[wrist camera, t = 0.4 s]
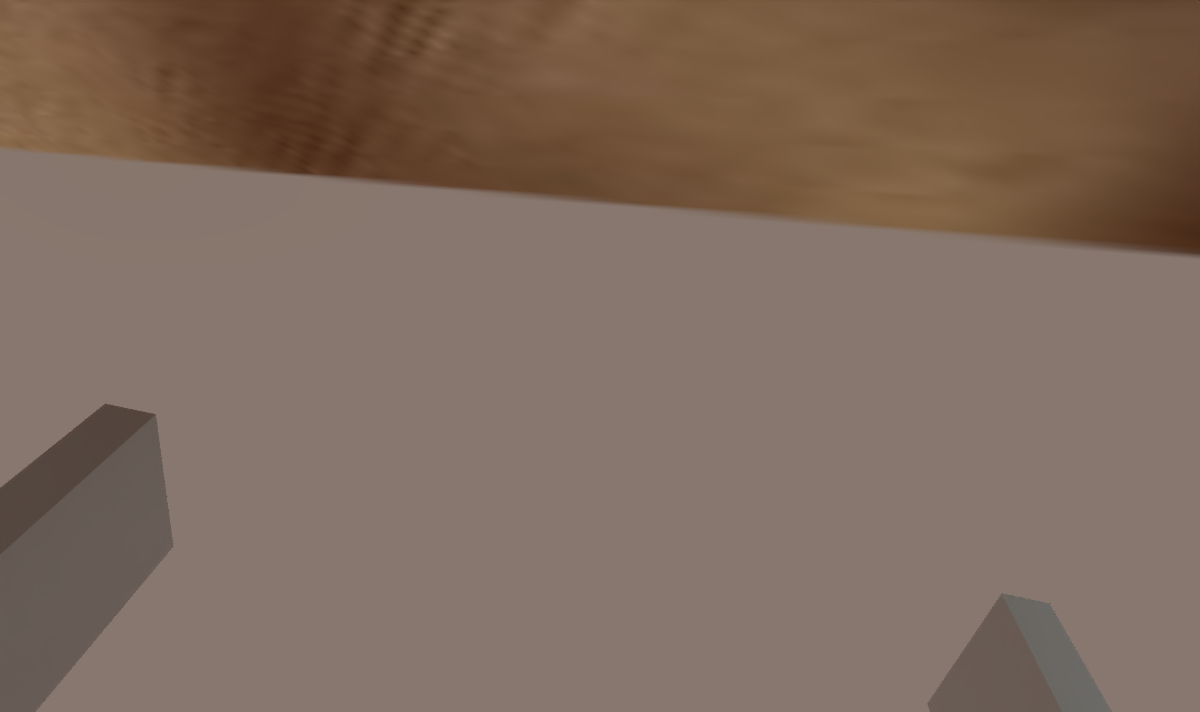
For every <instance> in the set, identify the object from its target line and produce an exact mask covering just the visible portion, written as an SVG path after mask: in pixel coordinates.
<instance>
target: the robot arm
mask: <svg viewBox="0 0 1200 712" xmlns="http://www.w3.org/2000/svg"><path fill="white" fill-rule="evenodd" d="M172 548H173V540H172V534H171V526H170V518H169V510H168V503H167V496H166V488H165V480H164V473H163V465H162V457H161V450H160V443H159V435H158V427H157V420H156V414H152V413H147V412H142V411H137V410H133V409H128V408H123V407H118V406H114V405H109V404H104V405H103V406H102V407H100V408H99V409H98V410H97V411H96V412H94V413H93V414H92V415H90V417H88V418H87V419H85V420H84V421H83V422H82V423H81V424H79V425H78V426H77V427H76V428H74V429H73V430H72V431H71V432H69V433H68V434H67V435H66V436H65V437H63V438H62V439H61V440H59V441H58V442H57V443H56V444H54V445H53V446H52V447H51V448H49V449H48V450H47V451H46V452H44V453H43V454H42V455H41V456H39V457H38V458H37V459H36V460H34V461H33V462H32V463H31V464H29V465H28V466H27V467H26V468H25V469H23V470H22V471H21V472H19V473H18V474H17V475H16V476H14V477H13V478H12V479H11V480H9V481H8V482H7V483H6V484H4V485H3V486H2V487H1V488H0V712H36V710H37V709H38V708H39V707H40V705H41V704H42V703H43V702H44V701H45V700H46V699H47V697H48V696H49V695H50V694H51V692H52V691H53V690H54V689H55V688H56V687H57V685H58V684H59V683H60V682H61V680H62V679H63V678H64V677H65V676H66V675H67V673H68V672H69V671H70V670H71V669H72V667H73V666H74V665H75V664H76V662H77V661H78V660H79V659H80V658H81V656H82V655H83V654H84V653H85V652H86V651H87V649H88V648H89V647H90V646H91V645H92V643H93V642H94V641H95V640H96V639H97V637H98V636H99V635H100V634H101V633H102V631H103V630H104V629H105V628H106V627H107V625H108V624H109V623H110V622H111V621H112V619H113V618H114V617H115V616H116V615H117V613H118V612H119V611H120V610H121V609H122V608H123V606H124V605H125V604H126V602H128V600H129V599H130V598H131V597H132V595H133V594H134V593H135V592H136V590H138V588H139V587H140V586H141V585H142V583H143V582H144V581H145V580H146V579H147V578H148V576H149V575H150V574H151V573H152V572H153V570H154V569H155V568H156V567H157V566H158V564H159V563H160V562H161V561H162V560H163V558H164V557H165V556H166V555H167V554H168V552H169V551H170V550H171V549H172ZM928 706H929V710H930V712H1112V711H1111V709H1110V707H1109V706H1108V704H1107V702H1106V700H1105V698H1104V697H1103V695H1102V693H1101V691H1100V690H1099V688H1098V686H1097V685H1096V683H1095V681H1094V679H1093V678H1092V676H1091V674H1090V672H1089V671H1088V669H1087V667H1086V665H1085V664H1084V662H1083V660H1082V659H1081V657H1080V655H1079V653H1078V651H1077V650H1076V648H1075V646H1074V644H1073V643H1072V641H1071V639H1070V637H1069V636H1068V634H1067V632H1066V631H1065V629H1064V627H1063V625H1062V624H1061V622H1060V620H1059V618H1058V617H1057V615H1056V613H1055V611H1054V610H1053V608H1052V606H1051V604H1050V603H1045V602H1040V601H1036V600H1031V599H1026V598H1022V597H1017V596H1012V595H1008V594H1003V593H1002V594H1001V595H1000V597H999V598H998V600H997V601H996V603H995V604H994V606H993V607H992V609H991V610H990V612H989V613H988V615H987V616H986V617H985V619H984V621H983V622H982V623H981V625H980V626H979V628H978V629H977V631H976V632H975V634H974V635H973V637H972V639H971V640H970V641H969V643H968V644H967V646H966V647H965V649H964V650H963V652H962V653H961V655H960V656H959V658H958V659H957V661H956V662H955V663H954V665H953V666H952V668H951V669H950V671H949V672H948V674H947V675H946V677H945V678H944V680H943V681H942V683H941V684H940V686H939V687H938V689H937V690H936V692H935V693H934V695H933V696H932V698H931V699H930V701H929V702H928Z"/></svg>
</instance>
